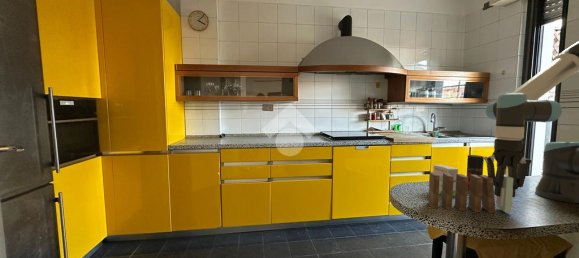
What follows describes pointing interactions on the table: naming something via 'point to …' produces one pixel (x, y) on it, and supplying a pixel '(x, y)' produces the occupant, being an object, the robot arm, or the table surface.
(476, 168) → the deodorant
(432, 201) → the domino
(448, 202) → the domino
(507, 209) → the domino
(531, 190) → the table surface
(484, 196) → the domino
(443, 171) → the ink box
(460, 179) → the domino
